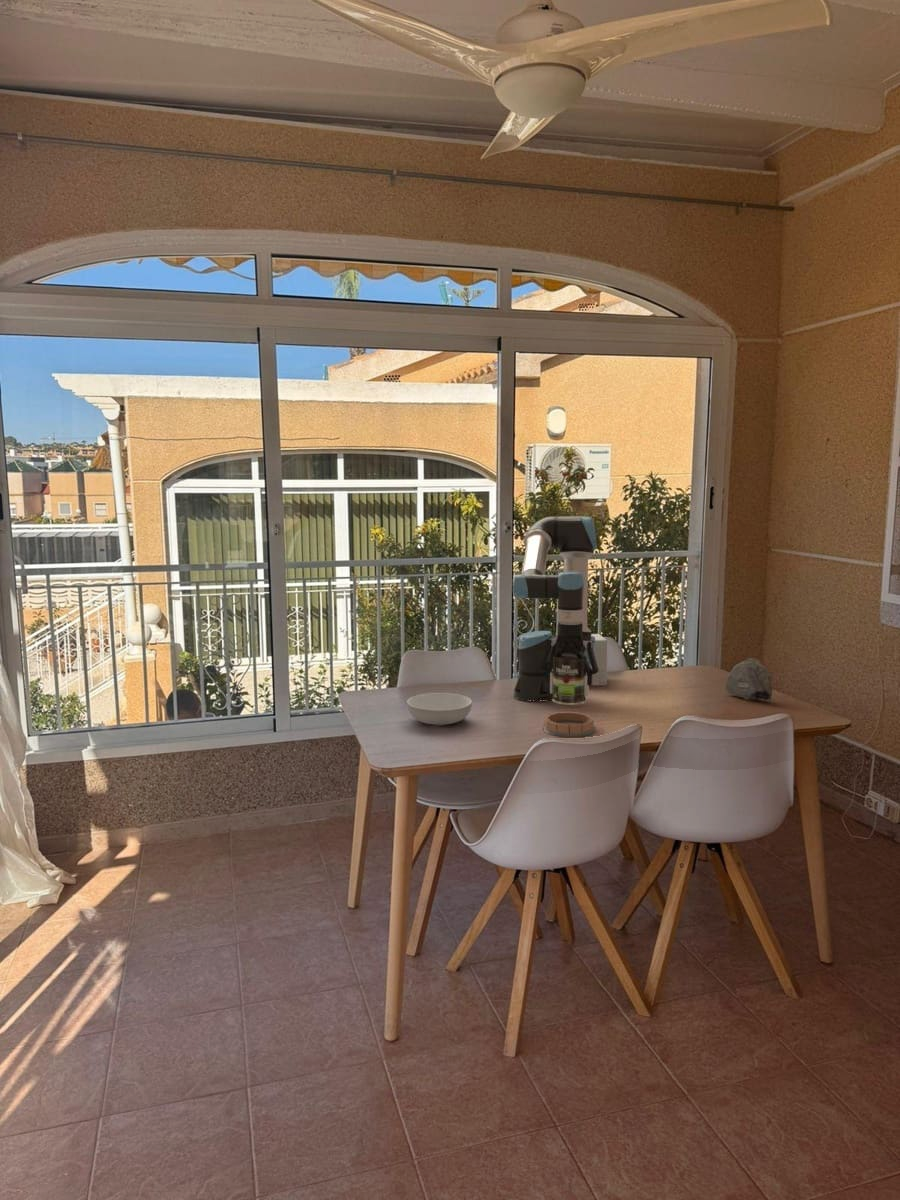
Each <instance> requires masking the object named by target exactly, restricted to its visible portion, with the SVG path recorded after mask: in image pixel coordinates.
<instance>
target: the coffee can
mask: <svg viewBox="0 0 900 1200" xmlns="http://www.w3.org/2000/svg"><path fill="white" fill-rule="evenodd" d="M555 655H556V654H555ZM555 655H553V670H552V671H553V699H552V702H553V703H555V704H558V705H561V706H578V705H579V706H580V705H583V704H585V703H586V702H587V701H586V698H587V697H585V696H584V681H585V675H586V671H585V669H584V666H585V662H586V660H587V657H586V656H585V655H584V658H582V659H579V658H578V657H577V656H576V654H575V653H574V654H573V653H562V655H561V656H560V657H556V656H555Z"/></svg>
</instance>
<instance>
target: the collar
mask: <svg viewBox="0 0 900 1200" xmlns="http://www.w3.org/2000/svg"><path fill="white" fill-rule="evenodd" d="M543 722H544V723H543V724H542V729H543V728H544V729H545V730H546V731H548V732H549V733H551V734H554V735H553V736H555V735H559V736H558V737H562V738H582V737H587V736H591V735H593V734H594V733H595V732H596V725H595V719H594V718H593V717H592V715H590V714H586V713H582V712H578V711H556V712H552V713H548V714H546V715H545V716H544V718H543ZM551 734H550V735H551Z"/></svg>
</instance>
